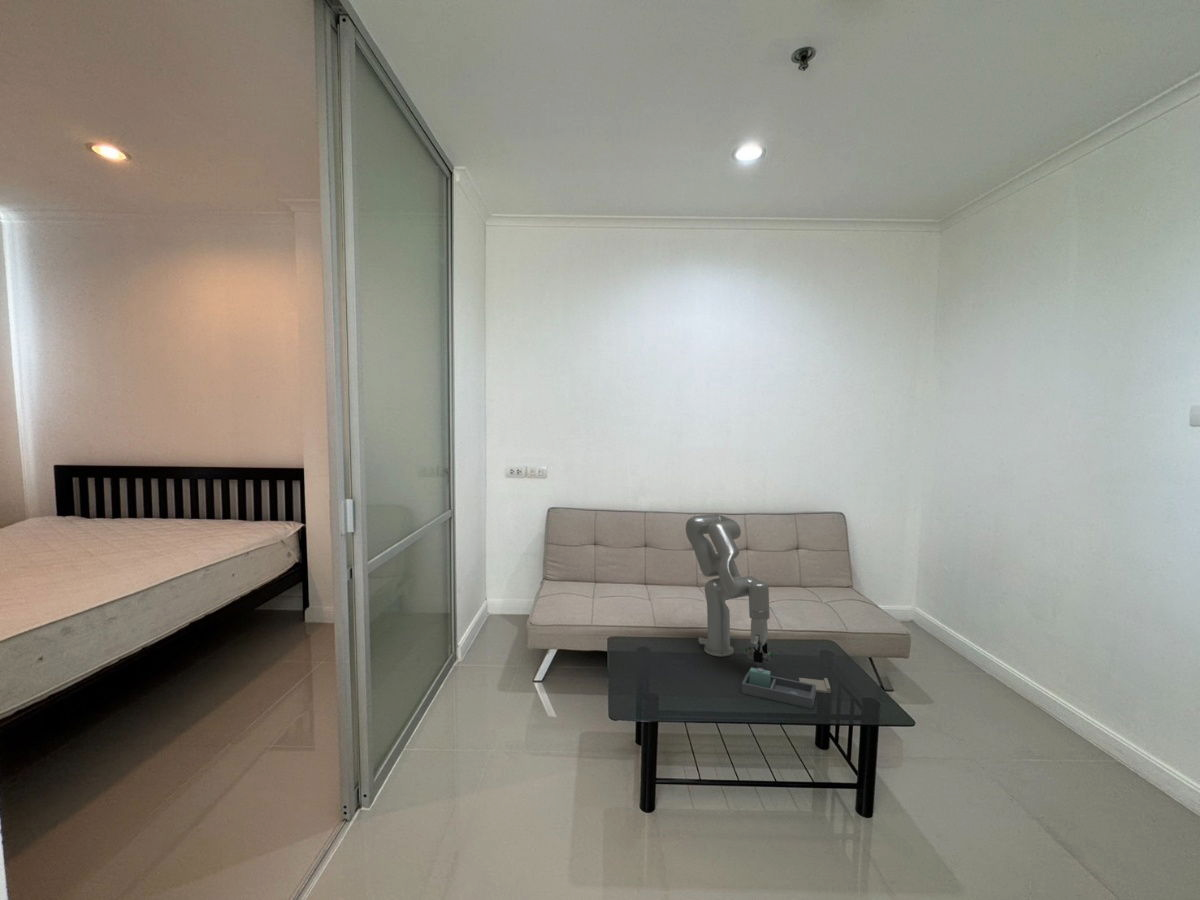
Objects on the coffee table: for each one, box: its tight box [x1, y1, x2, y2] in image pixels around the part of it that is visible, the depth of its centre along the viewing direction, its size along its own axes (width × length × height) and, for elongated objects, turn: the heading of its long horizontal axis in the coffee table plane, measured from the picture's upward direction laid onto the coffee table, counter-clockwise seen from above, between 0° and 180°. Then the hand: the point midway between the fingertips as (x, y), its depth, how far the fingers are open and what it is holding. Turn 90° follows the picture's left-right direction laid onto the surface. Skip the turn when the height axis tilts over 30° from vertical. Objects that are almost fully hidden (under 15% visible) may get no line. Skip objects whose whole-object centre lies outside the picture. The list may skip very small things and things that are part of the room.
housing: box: [741, 667, 817, 710], centre depth 183 cm, size 24×11×8 cm, turn 62°
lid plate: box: [798, 677, 832, 694], centre depth 188 cm, size 10×8×2 cm
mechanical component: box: [745, 646, 774, 668], centre depth 198 cm, size 3×10×10 cm, turn 58°
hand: (760, 657), depth 197 cm, fingers open, 9 cm apart
